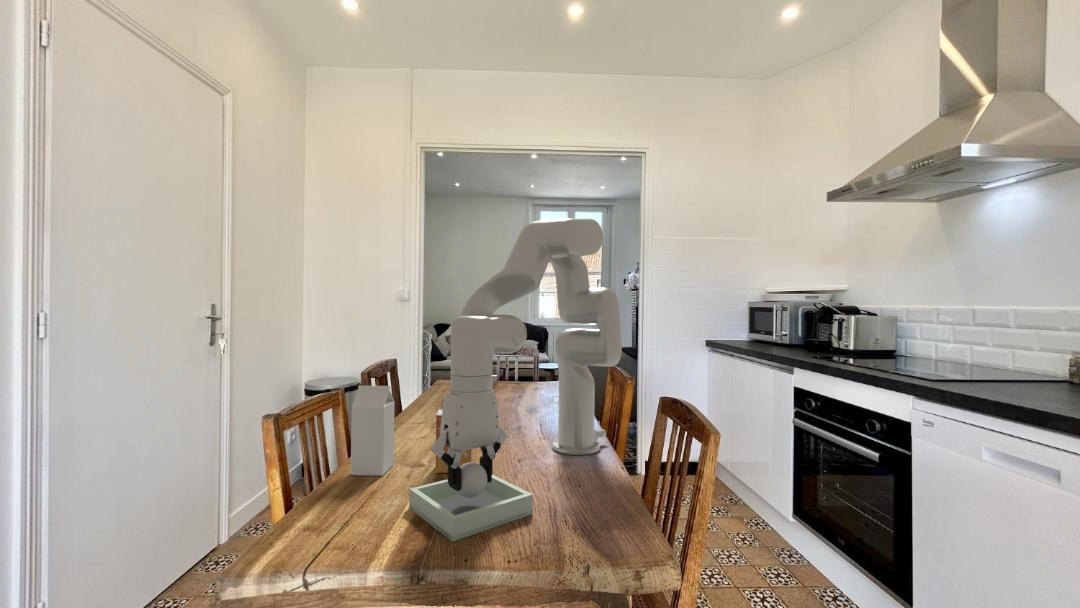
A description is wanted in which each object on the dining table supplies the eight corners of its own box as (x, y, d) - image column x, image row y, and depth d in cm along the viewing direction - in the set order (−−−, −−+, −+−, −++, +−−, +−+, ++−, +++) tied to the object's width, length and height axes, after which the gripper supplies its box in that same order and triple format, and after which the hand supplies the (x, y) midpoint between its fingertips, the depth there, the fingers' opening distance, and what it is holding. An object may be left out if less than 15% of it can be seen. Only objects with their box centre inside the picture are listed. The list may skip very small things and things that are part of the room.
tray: (483, 487, 95) (483, 470, 95) (532, 514, 83) (532, 494, 83) (409, 508, 85) (409, 488, 85) (452, 541, 73) (452, 519, 73)
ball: (475, 487, 88) (476, 455, 88) (493, 497, 84) (494, 463, 84) (447, 495, 84) (447, 462, 84) (464, 506, 80) (464, 471, 80)
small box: (434, 474, 103) (435, 414, 103) (437, 464, 109) (437, 409, 109) (471, 472, 104) (472, 414, 104) (472, 463, 110) (472, 408, 110)
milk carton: (382, 476, 101) (384, 388, 101) (350, 476, 101) (351, 388, 102) (393, 465, 108) (394, 383, 109) (363, 465, 108) (364, 383, 109)
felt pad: (479, 491, 91) (479, 490, 91) (508, 508, 83) (509, 506, 83) (432, 504, 85) (432, 503, 85) (459, 524, 77) (459, 522, 77)
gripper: (499, 377, 93) (498, 468, 92) (418, 385, 82) (416, 489, 81) (521, 382, 87) (521, 479, 87) (438, 391, 76) (436, 503, 76)
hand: (470, 483), depth 84 cm, fingers closed on ball, 5 cm apart
